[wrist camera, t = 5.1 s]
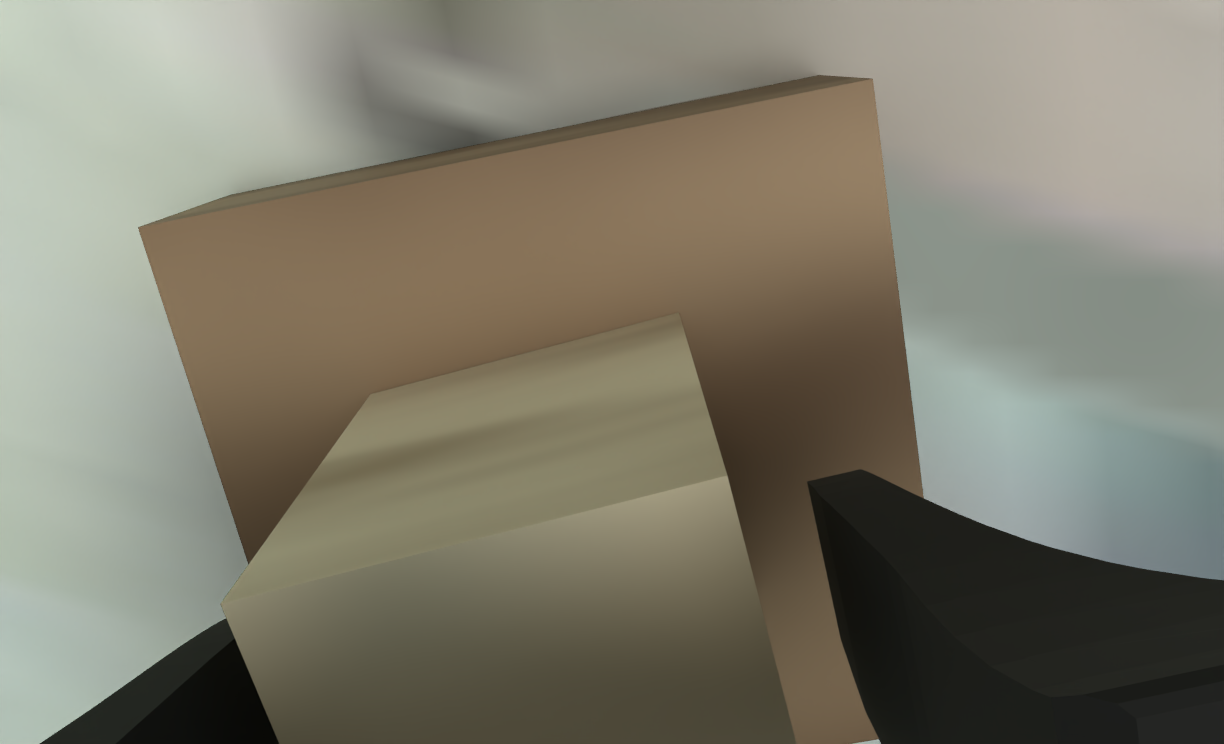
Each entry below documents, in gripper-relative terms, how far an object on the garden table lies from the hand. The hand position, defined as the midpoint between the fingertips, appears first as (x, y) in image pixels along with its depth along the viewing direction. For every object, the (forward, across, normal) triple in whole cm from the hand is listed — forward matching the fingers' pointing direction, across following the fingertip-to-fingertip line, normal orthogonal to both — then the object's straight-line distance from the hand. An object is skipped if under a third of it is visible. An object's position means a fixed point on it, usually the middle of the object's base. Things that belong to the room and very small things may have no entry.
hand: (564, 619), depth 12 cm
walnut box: (+8, 0, 0) cm, 8 cm away
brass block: (+3, 0, 0) cm, 4 cm away
